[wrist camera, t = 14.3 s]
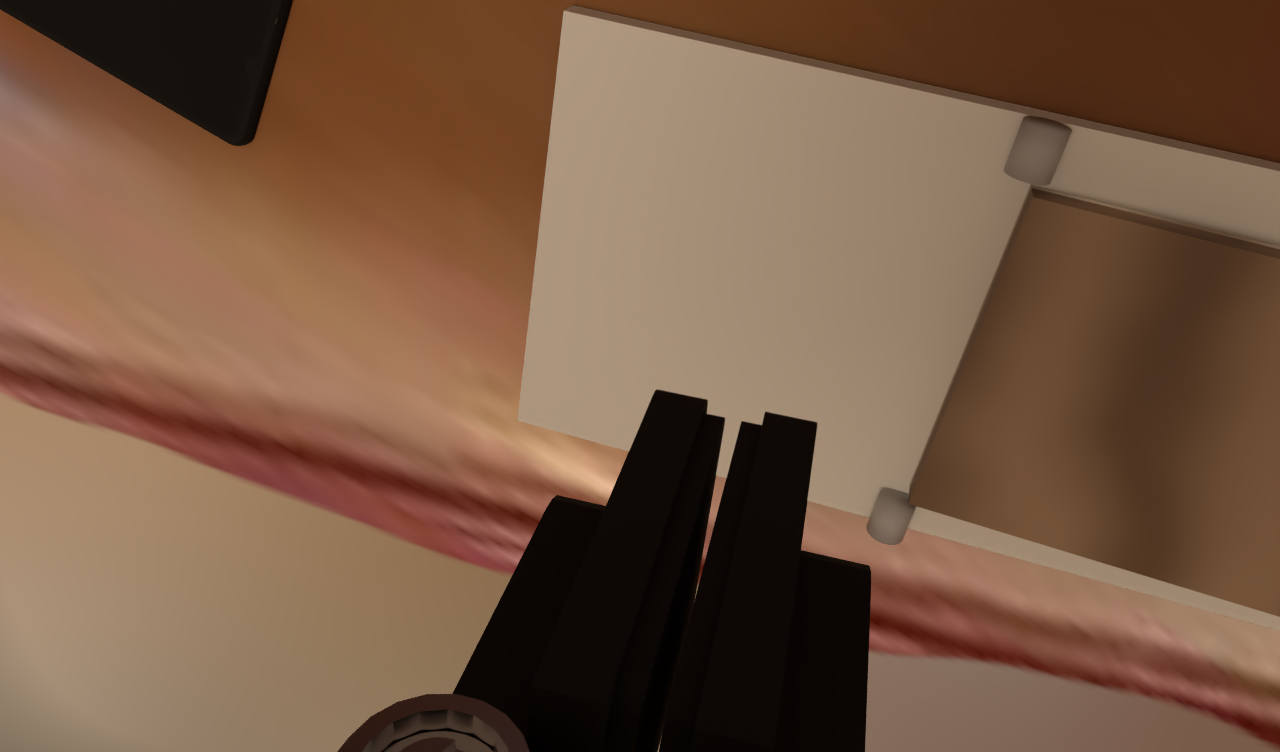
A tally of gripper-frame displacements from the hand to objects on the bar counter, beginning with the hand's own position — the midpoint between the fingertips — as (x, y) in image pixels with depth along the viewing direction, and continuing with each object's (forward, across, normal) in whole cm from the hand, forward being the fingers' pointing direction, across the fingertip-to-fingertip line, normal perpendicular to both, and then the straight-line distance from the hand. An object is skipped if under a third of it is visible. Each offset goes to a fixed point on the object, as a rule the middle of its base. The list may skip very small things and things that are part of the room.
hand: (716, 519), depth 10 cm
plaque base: (+23, -6, +9) cm, 26 cm away
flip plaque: (+21, -13, +9) cm, 26 cm away
